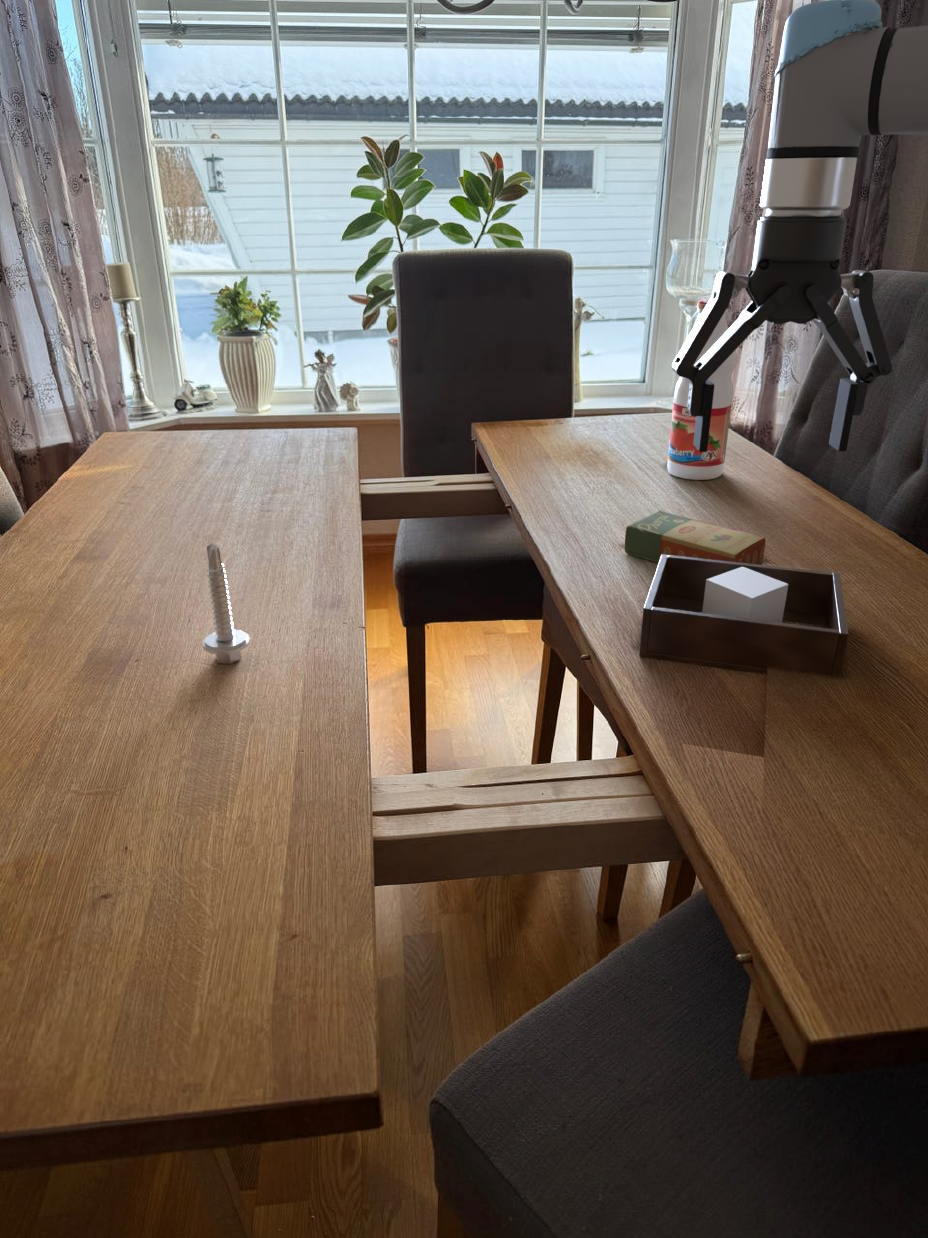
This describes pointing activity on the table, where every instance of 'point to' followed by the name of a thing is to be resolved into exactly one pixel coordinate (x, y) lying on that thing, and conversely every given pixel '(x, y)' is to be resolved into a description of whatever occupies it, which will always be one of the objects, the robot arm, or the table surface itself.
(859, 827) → the table surface
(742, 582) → the white cube
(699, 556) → the carton
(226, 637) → the screw
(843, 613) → the box
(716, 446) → the fruit juice
